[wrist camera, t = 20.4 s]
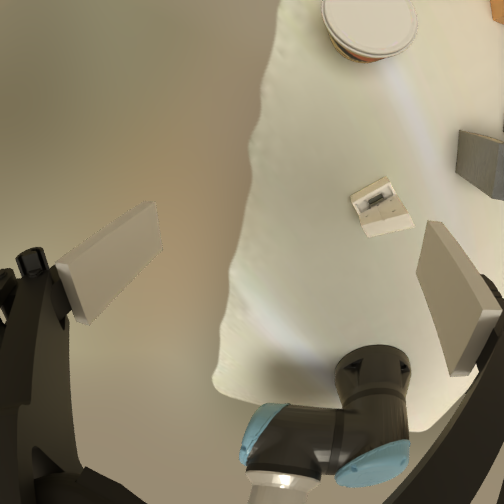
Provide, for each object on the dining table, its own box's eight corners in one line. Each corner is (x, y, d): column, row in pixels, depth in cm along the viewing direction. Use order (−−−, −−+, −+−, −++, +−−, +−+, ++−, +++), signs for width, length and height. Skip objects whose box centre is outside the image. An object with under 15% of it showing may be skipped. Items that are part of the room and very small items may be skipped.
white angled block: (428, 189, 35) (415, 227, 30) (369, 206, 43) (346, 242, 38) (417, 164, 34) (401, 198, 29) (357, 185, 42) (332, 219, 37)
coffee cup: (320, 62, 33) (317, 46, 23) (326, 0, 28) (323, -36, 18) (392, 76, 31) (417, 67, 21) (397, 13, 27) (420, -15, 17)
